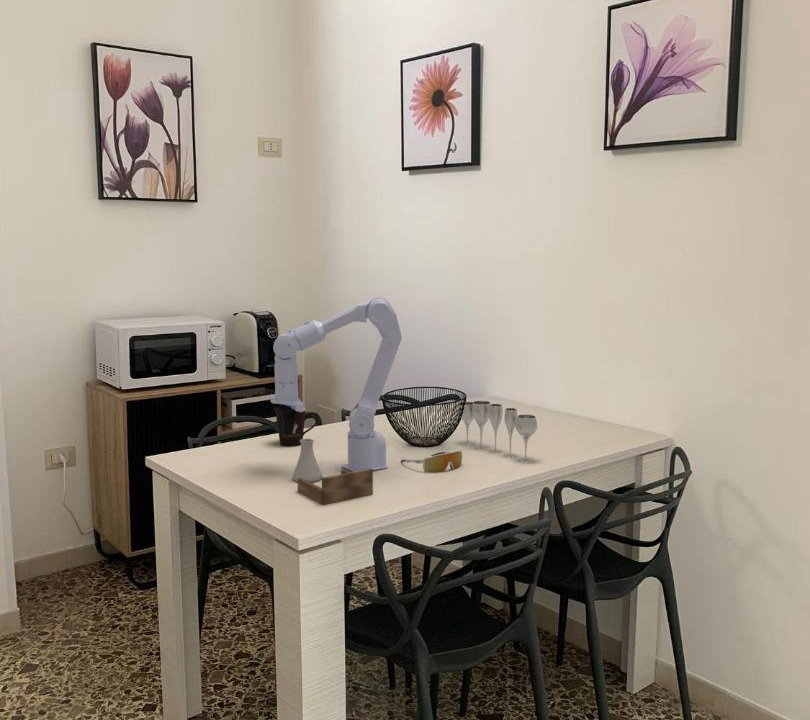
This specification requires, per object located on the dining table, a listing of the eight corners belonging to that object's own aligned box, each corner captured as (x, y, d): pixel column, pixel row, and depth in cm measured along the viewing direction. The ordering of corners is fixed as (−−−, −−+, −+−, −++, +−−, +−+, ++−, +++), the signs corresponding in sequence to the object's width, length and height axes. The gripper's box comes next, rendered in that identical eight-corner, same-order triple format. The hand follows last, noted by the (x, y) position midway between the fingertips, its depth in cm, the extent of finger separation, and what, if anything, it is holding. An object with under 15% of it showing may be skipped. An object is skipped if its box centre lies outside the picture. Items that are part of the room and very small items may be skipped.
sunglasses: (429, 476, 207) (427, 456, 207) (395, 471, 219) (393, 452, 219) (472, 467, 215) (470, 448, 215) (437, 462, 228) (435, 444, 227)
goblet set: (454, 443, 239) (454, 398, 237) (468, 440, 242) (469, 396, 240) (526, 464, 217) (527, 415, 215) (541, 460, 221) (542, 412, 219)
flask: (307, 473, 210) (307, 434, 208) (328, 478, 205) (327, 439, 204) (286, 479, 204) (285, 440, 203) (307, 485, 200) (306, 445, 198)
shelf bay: (344, 481, 203) (344, 457, 202) (372, 494, 193) (372, 469, 192) (297, 490, 195) (297, 466, 194) (324, 504, 185) (323, 479, 184)
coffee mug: (271, 446, 236) (270, 412, 234) (282, 439, 244) (282, 406, 242) (310, 449, 233) (309, 414, 231) (320, 441, 241) (319, 408, 240)
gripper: (259, 379, 213) (260, 430, 215) (285, 387, 201) (286, 442, 203) (283, 376, 217) (285, 427, 219) (311, 384, 205) (312, 438, 207)
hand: (287, 434), depth 211 cm, fingers closed
